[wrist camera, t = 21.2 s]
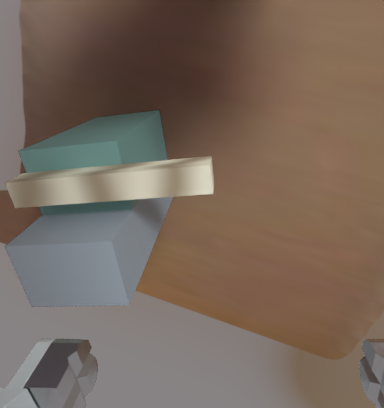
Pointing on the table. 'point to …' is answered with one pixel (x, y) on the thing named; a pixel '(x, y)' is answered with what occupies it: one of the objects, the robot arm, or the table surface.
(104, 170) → the ash rod
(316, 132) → the table surface
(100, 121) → the stepped riser
